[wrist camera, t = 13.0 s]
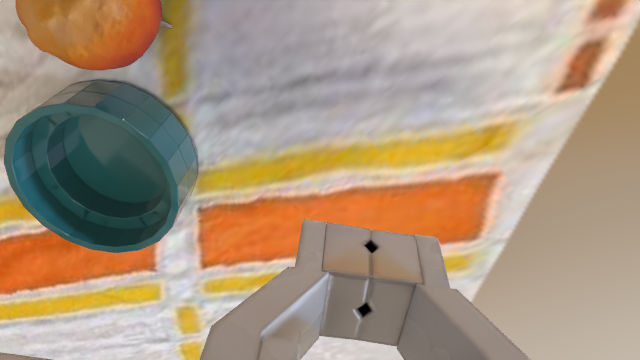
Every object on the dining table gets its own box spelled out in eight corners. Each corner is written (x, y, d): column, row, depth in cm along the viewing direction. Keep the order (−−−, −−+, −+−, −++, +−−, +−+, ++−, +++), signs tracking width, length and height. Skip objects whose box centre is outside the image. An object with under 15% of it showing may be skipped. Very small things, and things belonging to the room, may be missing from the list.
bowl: (30, 67, 34) (-17, 92, 29) (197, 89, 33) (174, 118, 29) (61, 204, 40) (25, 241, 36) (201, 223, 40) (182, 262, 36)
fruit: (121, 101, 33) (16, 84, 25) (84, 0, 33) (-29, -46, 26) (213, 49, 30) (128, 13, 23) (172, -58, 31) (75, -128, 23)
